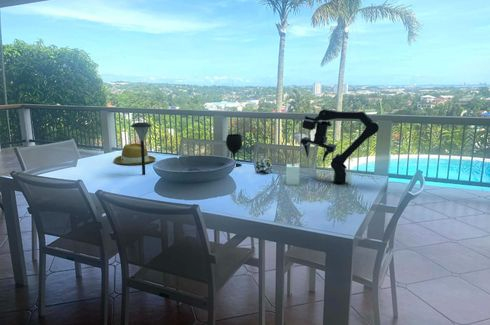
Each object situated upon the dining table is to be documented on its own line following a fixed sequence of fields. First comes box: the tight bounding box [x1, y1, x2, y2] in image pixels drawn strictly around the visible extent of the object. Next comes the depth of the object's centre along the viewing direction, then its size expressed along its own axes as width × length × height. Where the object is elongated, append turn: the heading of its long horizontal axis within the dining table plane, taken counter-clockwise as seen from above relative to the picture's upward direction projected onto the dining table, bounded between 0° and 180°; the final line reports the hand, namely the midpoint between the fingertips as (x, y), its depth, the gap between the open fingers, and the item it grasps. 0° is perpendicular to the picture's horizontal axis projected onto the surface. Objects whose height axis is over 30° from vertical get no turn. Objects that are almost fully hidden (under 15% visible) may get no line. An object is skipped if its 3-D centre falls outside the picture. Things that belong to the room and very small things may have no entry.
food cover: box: [285, 163, 301, 185], centre depth 196 cm, size 7×7×10 cm
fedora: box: [113, 142, 157, 166], centre depth 249 cm, size 27×29×12 cm
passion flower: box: [255, 156, 273, 174], centre depth 221 cm, size 11×11×12 cm
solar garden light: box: [130, 121, 153, 176], centre depth 210 cm, size 12×12×30 cm
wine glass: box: [225, 133, 243, 168], centre depth 239 cm, size 10×10×20 cm
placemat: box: [275, 175, 310, 188], centre depth 202 cm, size 22×14×1 cm, turn 161°
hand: (315, 158), depth 204 cm, fingers open, 9 cm apart
